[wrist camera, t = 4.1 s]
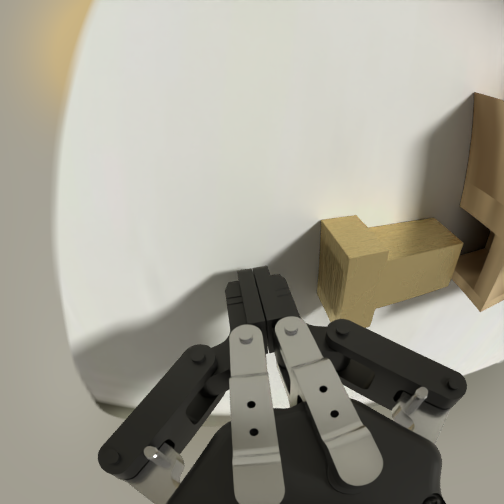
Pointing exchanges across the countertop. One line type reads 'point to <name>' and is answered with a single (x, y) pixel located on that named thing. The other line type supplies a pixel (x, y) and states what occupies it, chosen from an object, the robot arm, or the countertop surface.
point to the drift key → (381, 264)
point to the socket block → (485, 205)
